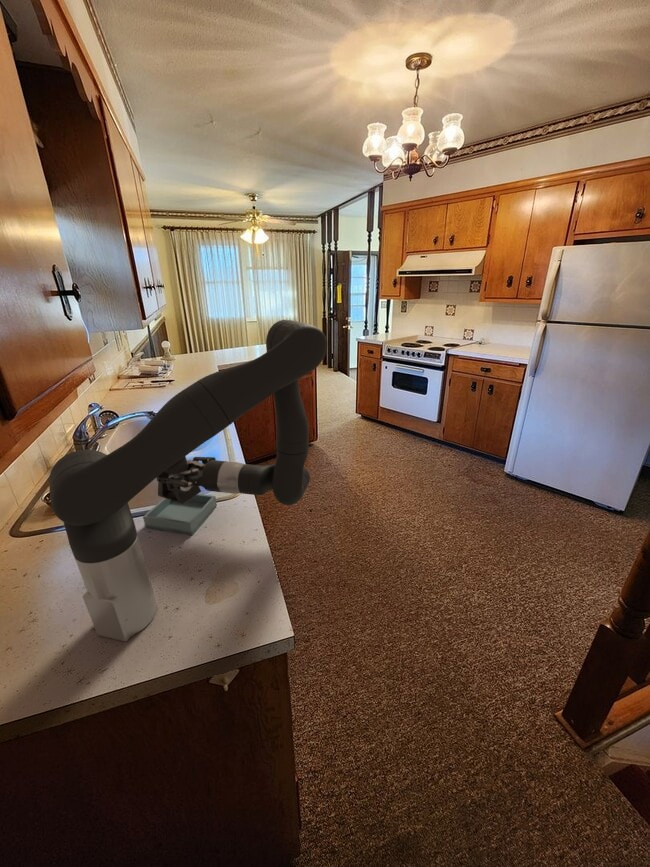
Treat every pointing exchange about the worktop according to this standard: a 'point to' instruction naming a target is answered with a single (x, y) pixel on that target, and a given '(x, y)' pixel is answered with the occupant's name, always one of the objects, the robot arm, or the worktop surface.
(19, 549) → the worktop surface
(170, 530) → the slate tray
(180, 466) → the phone stand
